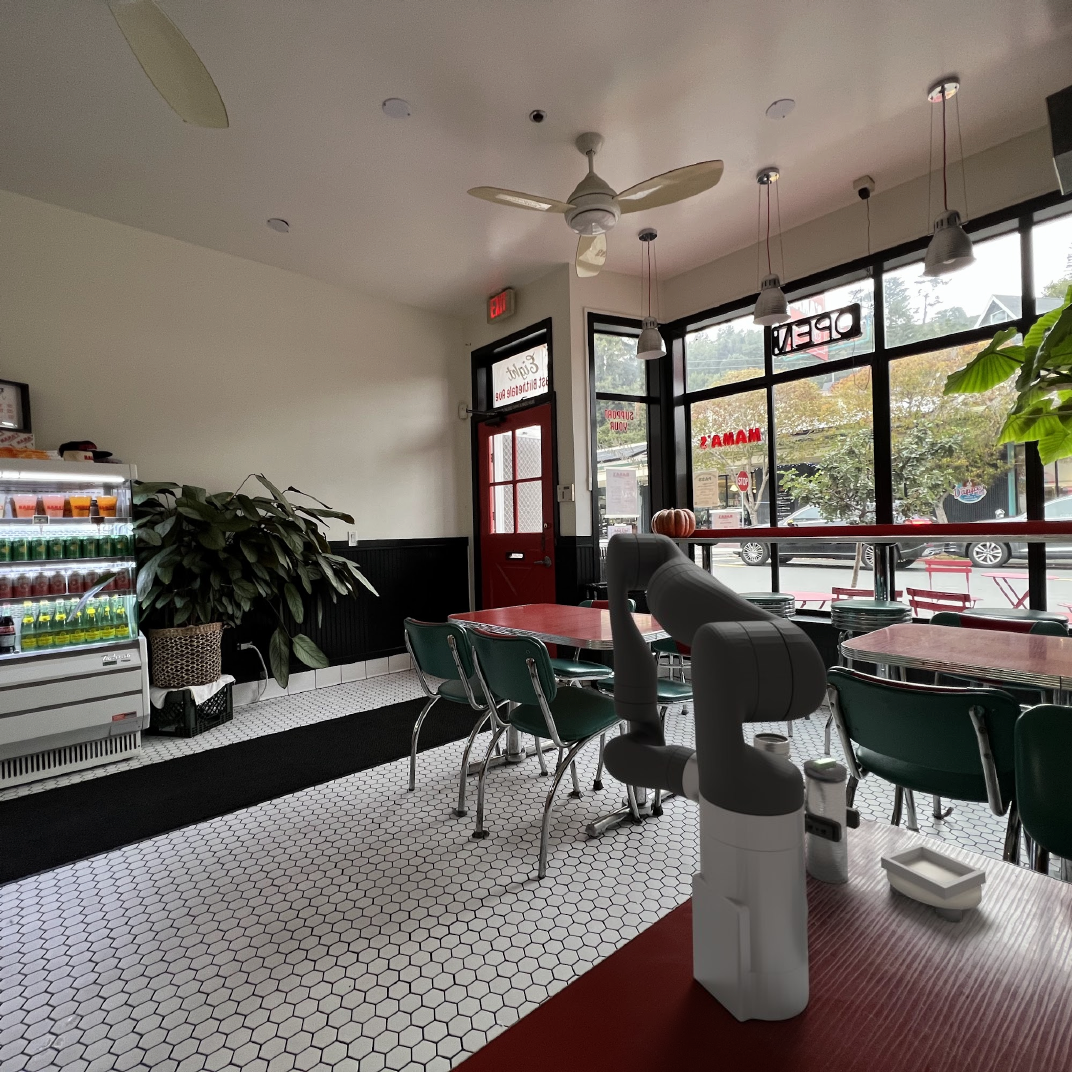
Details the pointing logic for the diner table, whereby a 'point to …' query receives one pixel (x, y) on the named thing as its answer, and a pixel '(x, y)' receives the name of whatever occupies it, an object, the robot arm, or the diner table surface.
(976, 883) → the rectangular footed bonsai pot
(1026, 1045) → the diner table surface
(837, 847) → the grey bottle with lid
